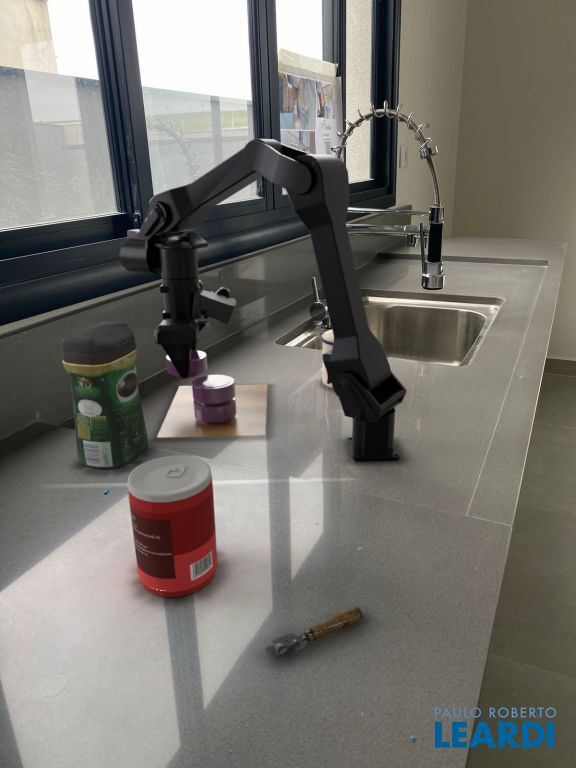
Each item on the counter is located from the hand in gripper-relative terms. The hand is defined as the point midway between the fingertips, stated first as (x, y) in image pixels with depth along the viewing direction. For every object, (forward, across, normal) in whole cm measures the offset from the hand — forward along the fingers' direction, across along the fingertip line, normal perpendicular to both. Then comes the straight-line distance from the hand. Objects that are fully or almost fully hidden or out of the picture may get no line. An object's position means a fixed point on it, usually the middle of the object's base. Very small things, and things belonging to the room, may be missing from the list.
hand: (187, 371), depth 100 cm
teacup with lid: (+6, +10, -28) cm, 30 cm away
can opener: (+6, -54, -18) cm, 57 cm away
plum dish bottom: (+6, -7, -5) cm, 10 cm away
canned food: (+6, -45, -5) cm, 46 cm away
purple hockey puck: (0, 0, 0) cm, 0 cm away
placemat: (+6, -3, -5) cm, 8 cm away
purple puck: (+2, -7, -5) cm, 9 cm away
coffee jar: (+6, -19, +8) cm, 21 cm away
